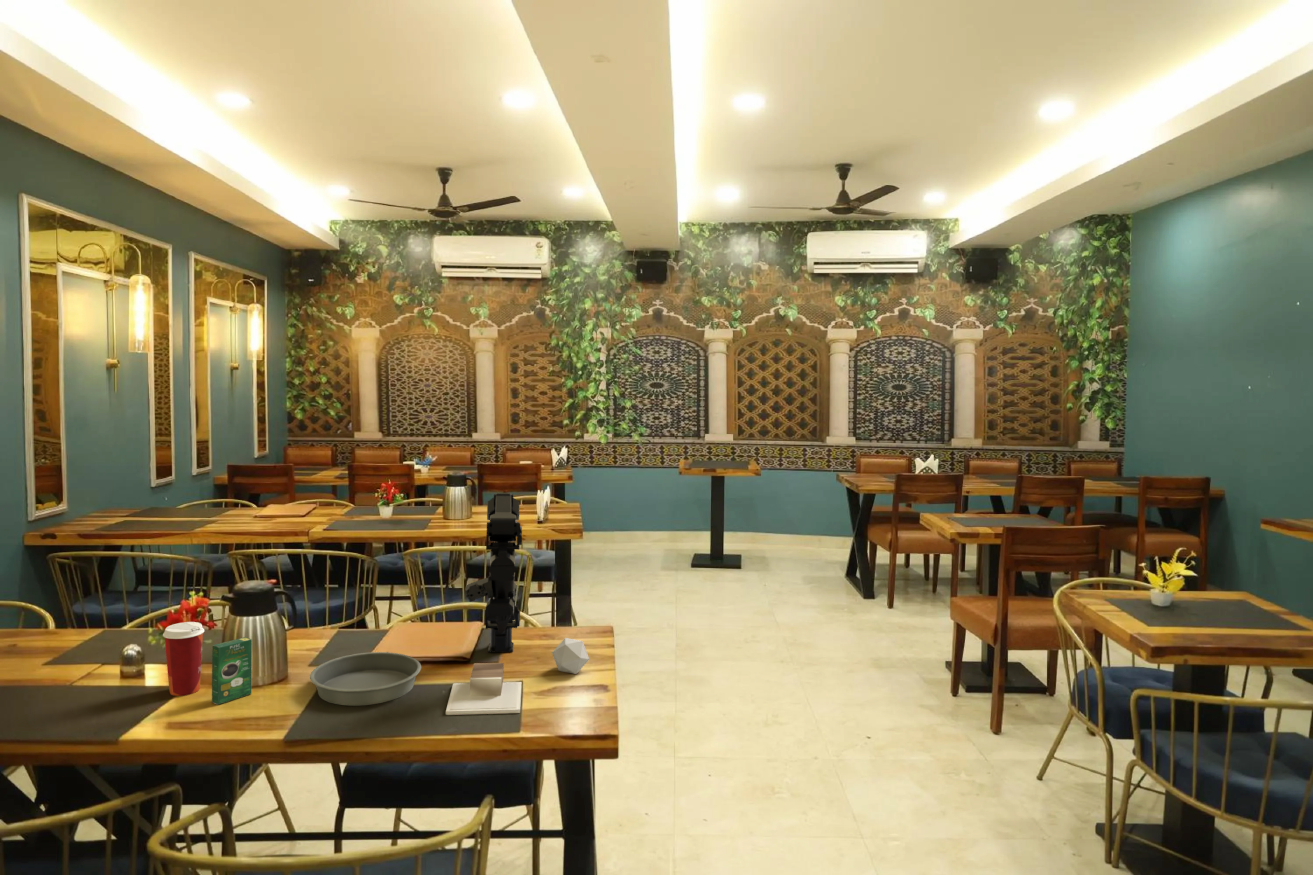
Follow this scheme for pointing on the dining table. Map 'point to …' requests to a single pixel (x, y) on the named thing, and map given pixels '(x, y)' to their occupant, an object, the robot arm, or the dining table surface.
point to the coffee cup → (184, 657)
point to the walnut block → (486, 679)
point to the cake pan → (365, 678)
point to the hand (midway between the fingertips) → (501, 632)
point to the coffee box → (231, 670)
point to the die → (570, 655)
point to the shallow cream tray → (484, 700)
